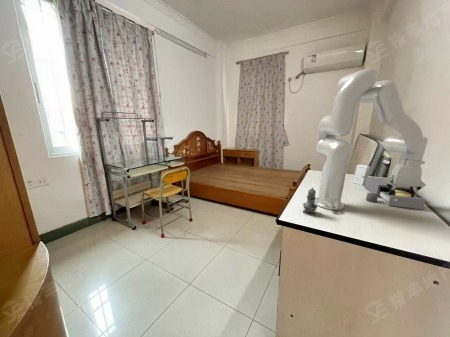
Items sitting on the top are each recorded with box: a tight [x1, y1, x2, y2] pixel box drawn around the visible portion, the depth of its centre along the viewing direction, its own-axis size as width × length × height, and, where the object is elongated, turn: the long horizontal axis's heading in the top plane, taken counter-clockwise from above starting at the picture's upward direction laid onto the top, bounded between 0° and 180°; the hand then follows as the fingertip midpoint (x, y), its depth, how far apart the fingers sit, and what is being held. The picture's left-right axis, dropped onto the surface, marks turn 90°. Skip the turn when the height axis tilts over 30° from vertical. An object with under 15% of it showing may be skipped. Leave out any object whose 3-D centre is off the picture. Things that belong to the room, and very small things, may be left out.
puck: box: [365, 192, 378, 203], centre depth 95 cm, size 4×4×4 cm
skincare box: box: [352, 164, 371, 186], centre depth 119 cm, size 6×4×12 cm
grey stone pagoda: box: [302, 187, 318, 217], centre depth 81 cm, size 6×6×12 cm
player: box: [364, 176, 411, 199], centre depth 104 cm, size 16×15×7 cm
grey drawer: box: [379, 191, 427, 210], centre depth 94 cm, size 16×13×5 cm
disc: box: [394, 190, 412, 197], centre depth 91 cm, size 7×7×2 cm
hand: (400, 197), depth 92 cm, fingers closed on disc, 6 cm apart
